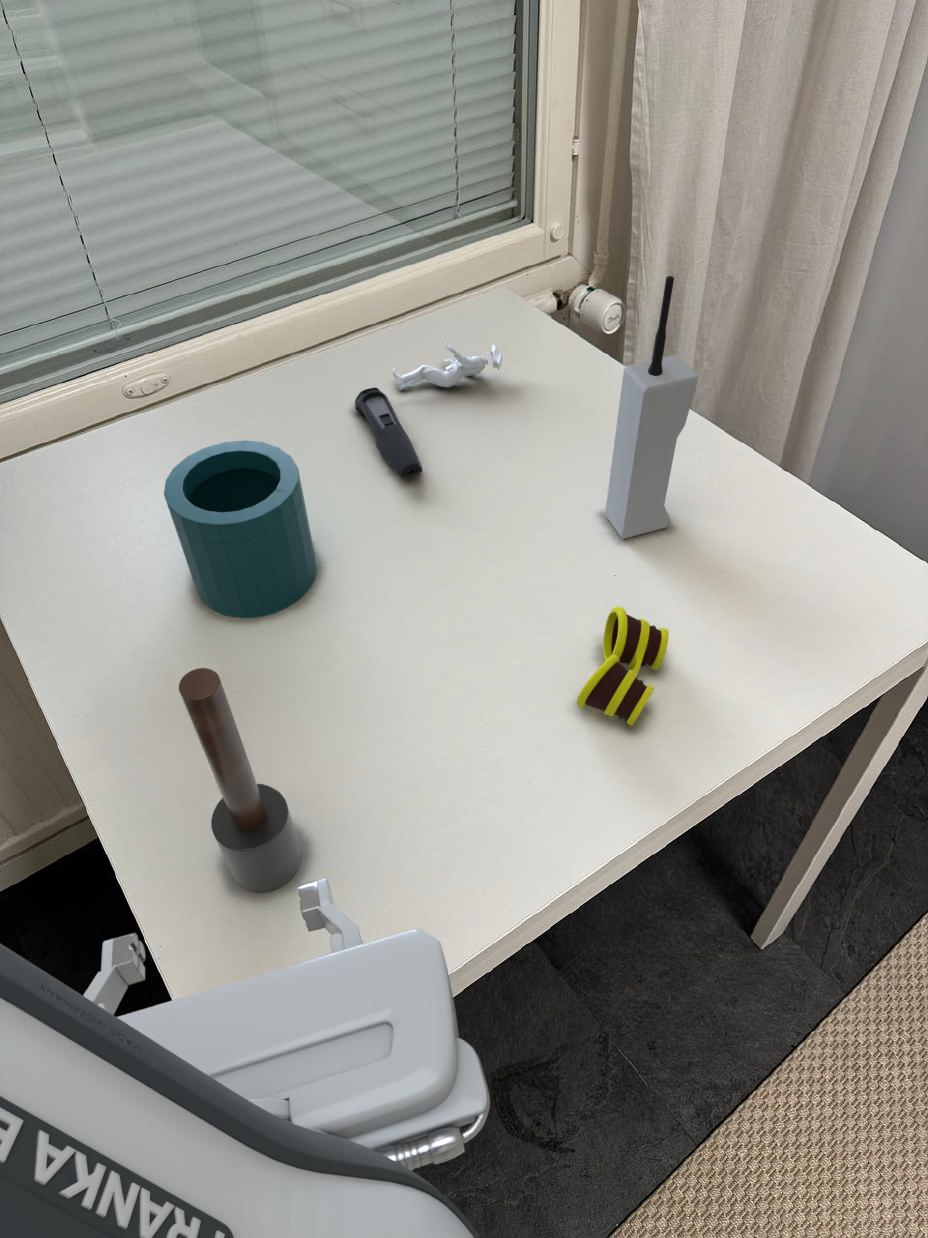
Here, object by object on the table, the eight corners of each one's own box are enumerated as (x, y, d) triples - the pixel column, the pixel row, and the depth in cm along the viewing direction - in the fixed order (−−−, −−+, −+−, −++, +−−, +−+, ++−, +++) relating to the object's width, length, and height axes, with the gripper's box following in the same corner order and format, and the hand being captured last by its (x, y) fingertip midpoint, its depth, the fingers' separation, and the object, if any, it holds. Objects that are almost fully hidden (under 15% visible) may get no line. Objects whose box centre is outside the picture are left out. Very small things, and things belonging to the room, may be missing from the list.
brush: (241, 905, 61) (164, 734, 46) (221, 845, 64) (142, 667, 49) (311, 874, 62) (257, 699, 47) (288, 817, 65) (231, 636, 50)
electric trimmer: (395, 492, 90) (393, 467, 88) (352, 408, 100) (349, 384, 97) (430, 483, 91) (429, 458, 89) (384, 401, 101) (382, 377, 98)
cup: (214, 634, 77) (182, 540, 69) (182, 556, 84) (150, 462, 76) (333, 592, 80) (316, 498, 72) (294, 521, 87) (274, 427, 79)
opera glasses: (631, 742, 70) (652, 708, 66) (569, 715, 70) (586, 680, 67) (659, 653, 76) (679, 617, 72) (601, 629, 77) (618, 592, 73)
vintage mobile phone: (668, 528, 85) (718, 279, 67) (621, 541, 84) (659, 291, 66) (650, 504, 88) (694, 258, 69) (604, 516, 87) (636, 269, 68)
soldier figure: (395, 379, 105) (486, 333, 105) (413, 416, 106) (504, 371, 105) (389, 365, 98) (487, 316, 97) (408, 406, 98) (507, 356, 97)
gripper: (496, 1109, 33) (415, 818, 43) (-79, 1299, 30) (-19, 940, 41) (508, 1170, 37) (432, 890, 47) (2, 1341, 34) (38, 1006, 45)
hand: (220, 914), depth 44 cm, fingers open, 8 cm apart
